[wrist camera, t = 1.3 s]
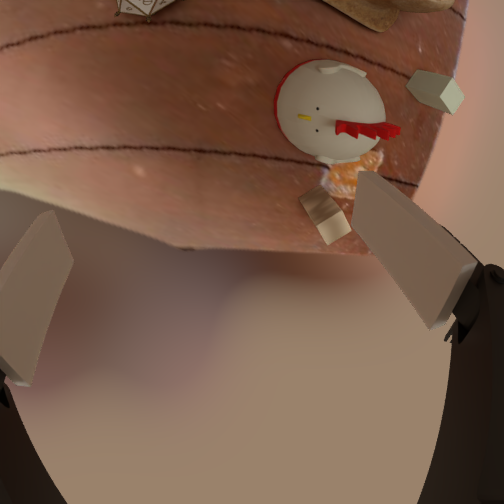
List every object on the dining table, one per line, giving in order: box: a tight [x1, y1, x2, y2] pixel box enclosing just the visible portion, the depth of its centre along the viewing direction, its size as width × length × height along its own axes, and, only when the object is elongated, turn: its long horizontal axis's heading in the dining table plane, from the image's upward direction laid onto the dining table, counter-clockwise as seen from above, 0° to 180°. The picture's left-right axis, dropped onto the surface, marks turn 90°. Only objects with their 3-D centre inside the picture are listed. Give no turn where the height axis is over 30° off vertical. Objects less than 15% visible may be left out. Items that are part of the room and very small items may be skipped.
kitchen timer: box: [274, 59, 401, 164], centre depth 30 cm, size 14×14×15 cm
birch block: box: [298, 185, 352, 245], centre depth 41 cm, size 4×4×8 cm
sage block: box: [406, 69, 465, 115], centre depth 31 cm, size 4×4×8 cm
